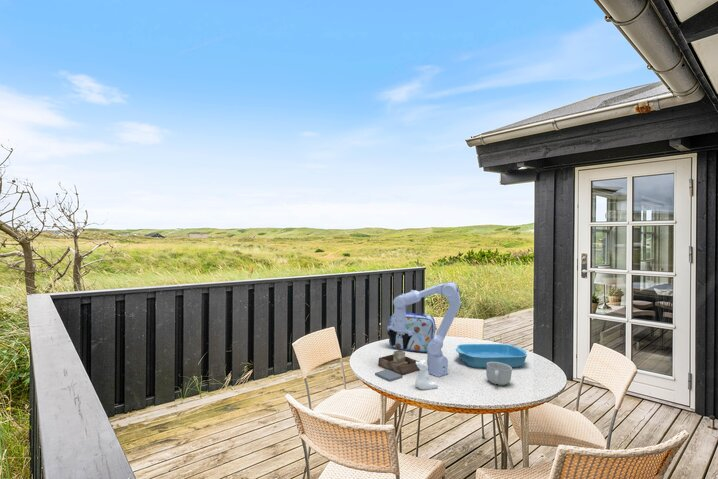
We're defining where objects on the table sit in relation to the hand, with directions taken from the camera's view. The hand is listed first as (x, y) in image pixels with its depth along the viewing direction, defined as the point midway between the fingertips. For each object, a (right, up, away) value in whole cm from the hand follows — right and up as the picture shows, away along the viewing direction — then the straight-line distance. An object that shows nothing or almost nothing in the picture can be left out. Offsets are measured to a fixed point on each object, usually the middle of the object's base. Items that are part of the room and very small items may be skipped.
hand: (399, 347), depth 185 cm
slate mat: (-6, -10, -13) cm, 17 cm away
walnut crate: (0, -10, -2) cm, 10 cm away
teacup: (+42, -11, -19) cm, 47 cm away
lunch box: (+11, -10, +29) cm, 33 cm away
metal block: (0, -7, -2) cm, 7 cm away
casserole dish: (+49, -12, +10) cm, 52 cm away
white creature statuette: (+8, -11, -24) cm, 28 cm away
